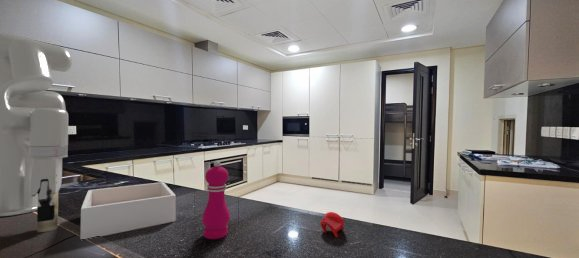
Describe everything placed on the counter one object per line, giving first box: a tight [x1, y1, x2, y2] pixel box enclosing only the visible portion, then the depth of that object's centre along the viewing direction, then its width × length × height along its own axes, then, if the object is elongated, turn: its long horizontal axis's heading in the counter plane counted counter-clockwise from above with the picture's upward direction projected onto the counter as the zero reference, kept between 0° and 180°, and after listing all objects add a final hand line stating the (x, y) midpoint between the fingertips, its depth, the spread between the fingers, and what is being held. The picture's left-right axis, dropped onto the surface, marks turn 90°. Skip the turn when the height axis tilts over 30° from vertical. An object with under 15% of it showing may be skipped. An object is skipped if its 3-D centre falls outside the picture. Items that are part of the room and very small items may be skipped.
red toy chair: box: [320, 211, 345, 238], centre depth 66 cm, size 8×6×6 cm
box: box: [79, 181, 177, 240], centre depth 74 cm, size 22×22×8 cm
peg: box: [36, 190, 59, 233], centre depth 65 cm, size 4×4×12 cm
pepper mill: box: [201, 160, 231, 240], centre depth 64 cm, size 7×7×20 cm
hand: (47, 217), depth 65 cm, fingers closed on peg, 4 cm apart
